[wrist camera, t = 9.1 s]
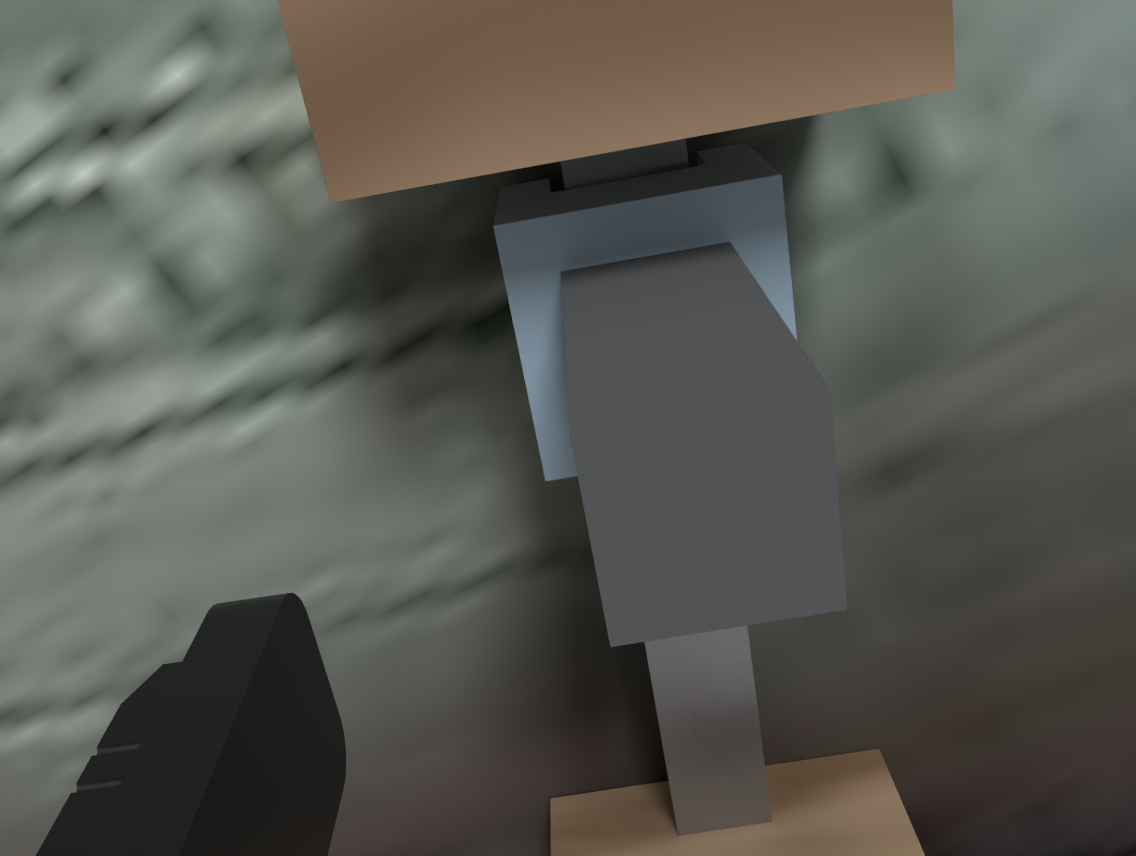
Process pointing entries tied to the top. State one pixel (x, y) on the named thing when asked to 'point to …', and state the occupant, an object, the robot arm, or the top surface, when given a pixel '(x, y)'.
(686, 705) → the stand
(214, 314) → the top surface
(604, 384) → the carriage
